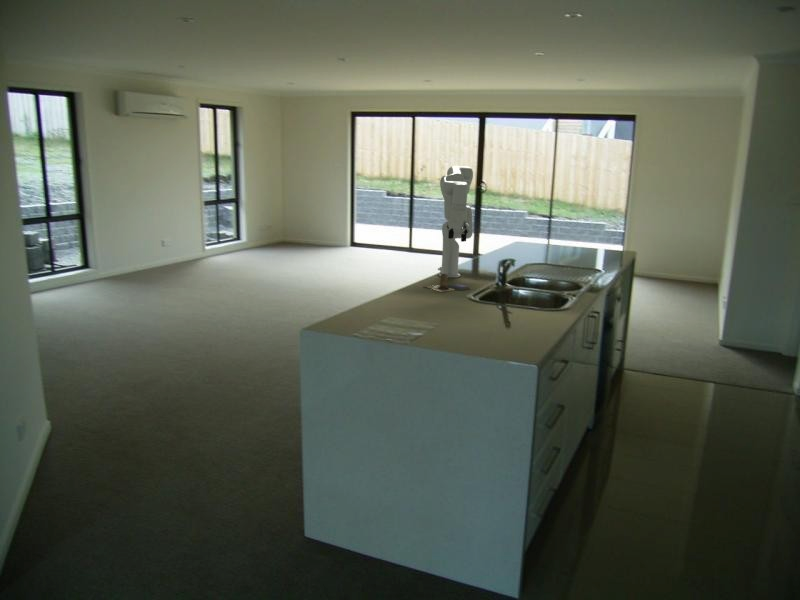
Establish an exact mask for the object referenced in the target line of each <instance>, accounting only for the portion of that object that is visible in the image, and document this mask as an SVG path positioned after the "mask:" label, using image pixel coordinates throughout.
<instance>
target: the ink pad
mask: <svg viewBox="0 0 800 600" xmlns="http://www.w3.org/2000/svg"><path fill="white" fill-rule="evenodd" d="M447 287H448V288H451V289H455V290H458V291H466V290H470V289H471V287H470V286H469V285H465V284H461V283H453V284H448V285H447Z"/></svg>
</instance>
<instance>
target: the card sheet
mask: <svg viewBox="0 0 800 600" xmlns="http://www.w3.org/2000/svg"><path fill="white" fill-rule="evenodd" d="M434 285H435V286H434ZM432 286H434V287H433V288H432V289H433V290H434V291H437V292H440V293H442V292H449V291H455V290H456V289H453V288H449V287H448V288H449V290H440V289H438V287H440V284H433V285H432ZM432 289H431V290H432ZM433 290H432V291H433Z"/></svg>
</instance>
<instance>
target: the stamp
mask: <svg viewBox="0 0 800 600" xmlns="http://www.w3.org/2000/svg"><path fill="white" fill-rule="evenodd" d="M439 277H440V278H439V280H440V281H439V283H440V284H439V286H440V287H438V289H440V290H449V287H448V276H447V274H445V273H443V274H441V276H439Z"/></svg>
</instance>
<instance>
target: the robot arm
mask: <svg viewBox="0 0 800 600" xmlns="http://www.w3.org/2000/svg"><path fill="white" fill-rule="evenodd" d="M473 178H474V171H473V169H472V168H471V166H464V165H463V166H461V165H460V166H459V165H453V166H450V167H449V168H447V172H446V175H443V176H441V177H440V180H439V181H440V182H439V183H440V184H439V186H440V191H441V195H442V197H443V204H444V207H443V208H444V209H443V210H444V211H443V212H444V219H445V220H446V221H445V222H443V224H442V226H441V233H442V234H441V235H442V252H441V253H442V255H441V266H440V267H438V268H437V270H438V271H439V272H438V276H439V277H441V274H443V273H445V274H447V276H448V277H447V279H448V278H460V277H461V274H460V273H459V253H460V245H459V243H458V242H457V240H456V239H460V242H467V239H471V237H473V232H474V230H473V225H474V224H473V210H472V208H471V206H469V205H467V200H468V194H469V193H470V188H471V184H472V182H473ZM440 273H441V274H440Z"/></svg>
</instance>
